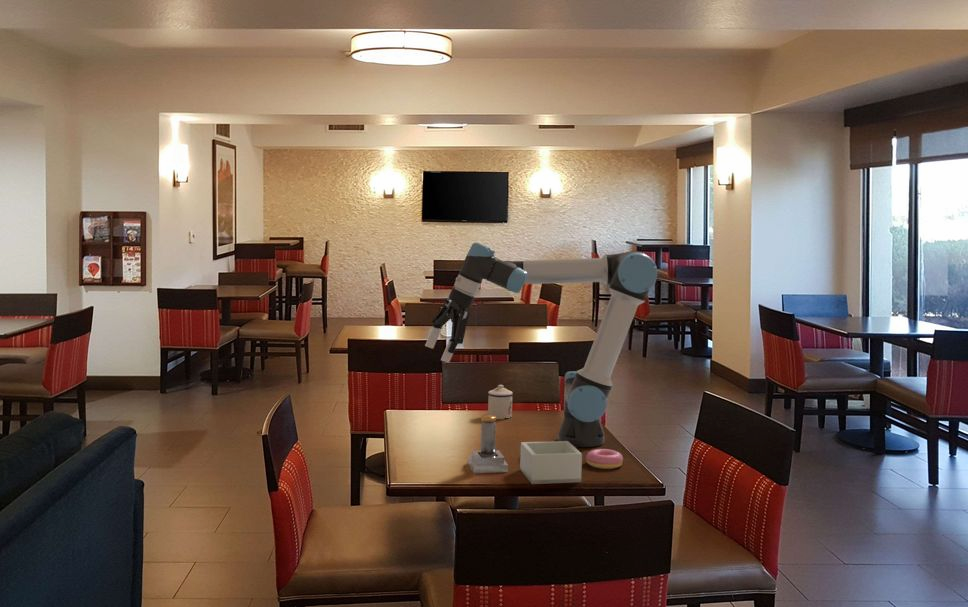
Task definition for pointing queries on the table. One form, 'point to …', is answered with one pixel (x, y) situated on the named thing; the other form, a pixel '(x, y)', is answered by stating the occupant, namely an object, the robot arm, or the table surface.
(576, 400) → the robot arm
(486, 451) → the gold topped grey cylinder
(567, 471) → the bin
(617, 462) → the doughnut
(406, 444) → the table surface
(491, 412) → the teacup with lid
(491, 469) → the grey square socket base
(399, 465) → the table surface
